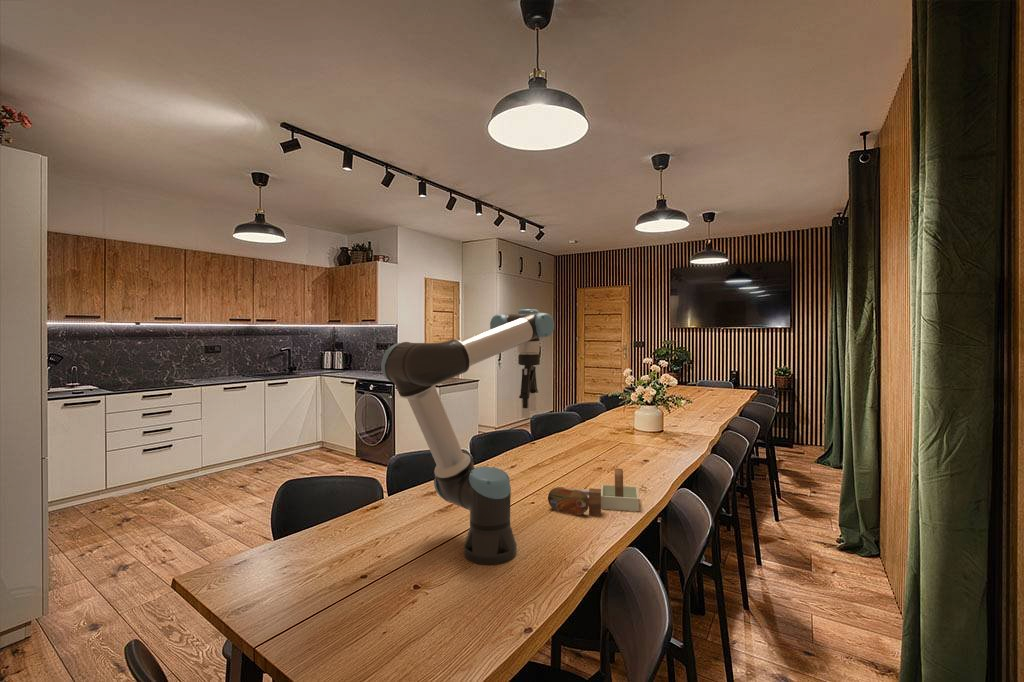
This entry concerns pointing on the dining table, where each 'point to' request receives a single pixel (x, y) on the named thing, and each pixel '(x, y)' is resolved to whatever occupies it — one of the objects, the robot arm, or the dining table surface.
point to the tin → (568, 500)
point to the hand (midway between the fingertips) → (529, 414)
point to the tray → (619, 498)
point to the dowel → (618, 482)
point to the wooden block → (594, 501)
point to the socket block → (585, 492)
